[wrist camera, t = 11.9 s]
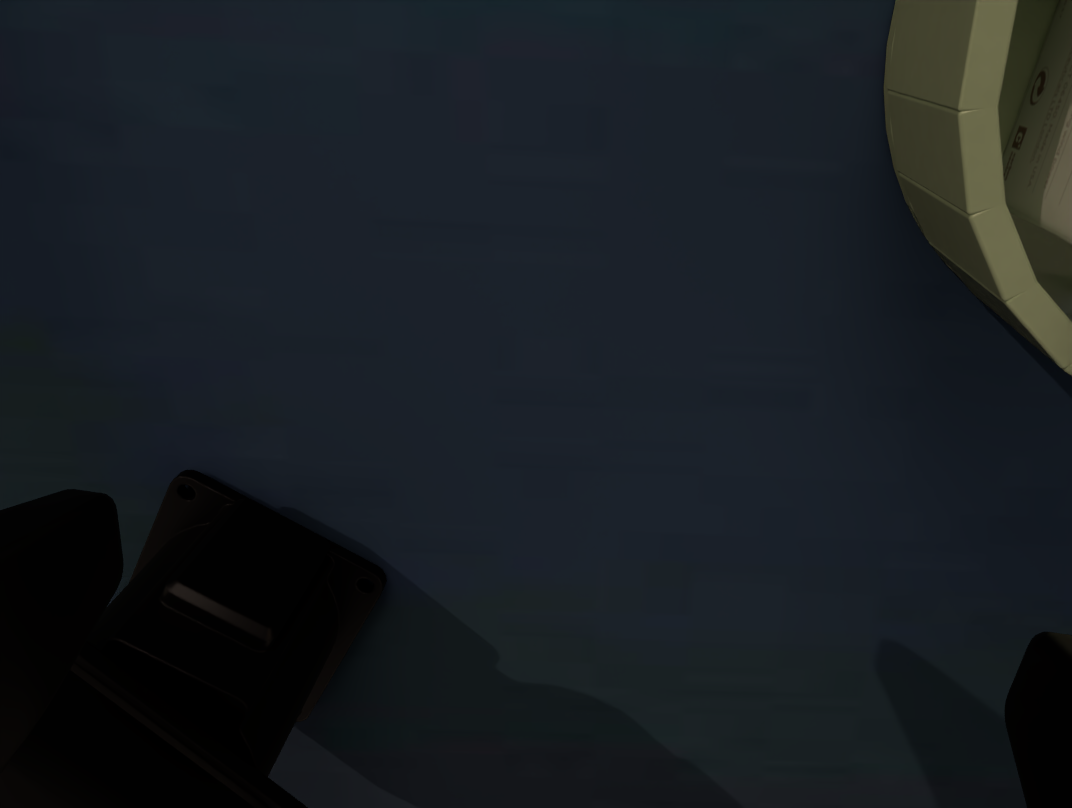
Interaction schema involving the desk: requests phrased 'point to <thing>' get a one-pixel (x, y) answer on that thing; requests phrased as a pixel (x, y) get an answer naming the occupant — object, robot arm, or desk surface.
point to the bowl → (975, 154)
